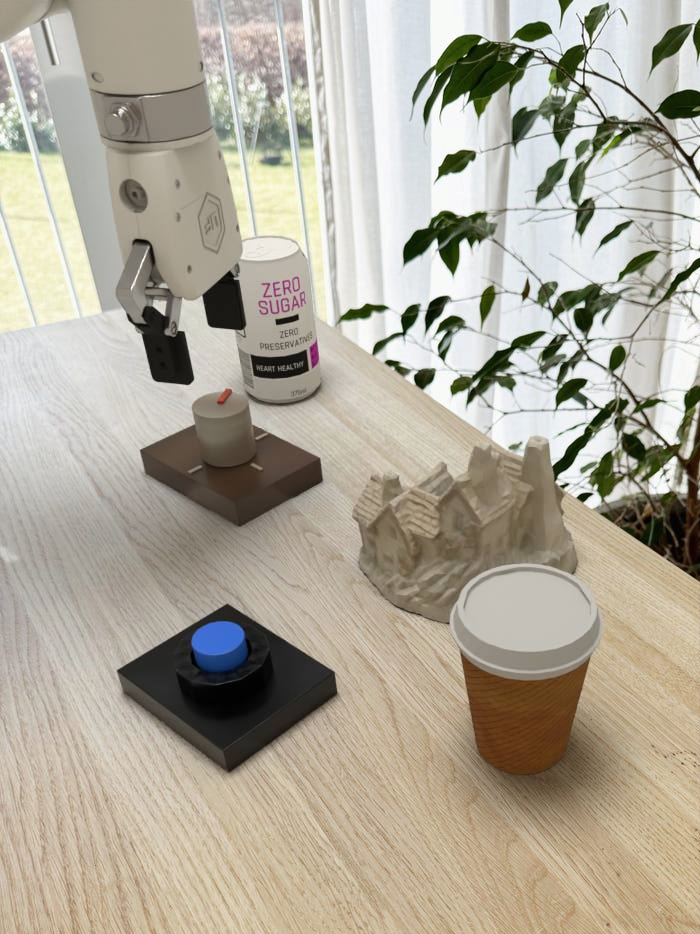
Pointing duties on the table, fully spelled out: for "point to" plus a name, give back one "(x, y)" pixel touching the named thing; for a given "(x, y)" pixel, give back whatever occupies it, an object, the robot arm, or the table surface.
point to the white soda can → (277, 321)
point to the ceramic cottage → (461, 526)
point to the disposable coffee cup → (525, 660)
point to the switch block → (229, 690)
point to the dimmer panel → (233, 474)
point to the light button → (219, 646)
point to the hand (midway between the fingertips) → (202, 353)
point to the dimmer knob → (224, 428)
